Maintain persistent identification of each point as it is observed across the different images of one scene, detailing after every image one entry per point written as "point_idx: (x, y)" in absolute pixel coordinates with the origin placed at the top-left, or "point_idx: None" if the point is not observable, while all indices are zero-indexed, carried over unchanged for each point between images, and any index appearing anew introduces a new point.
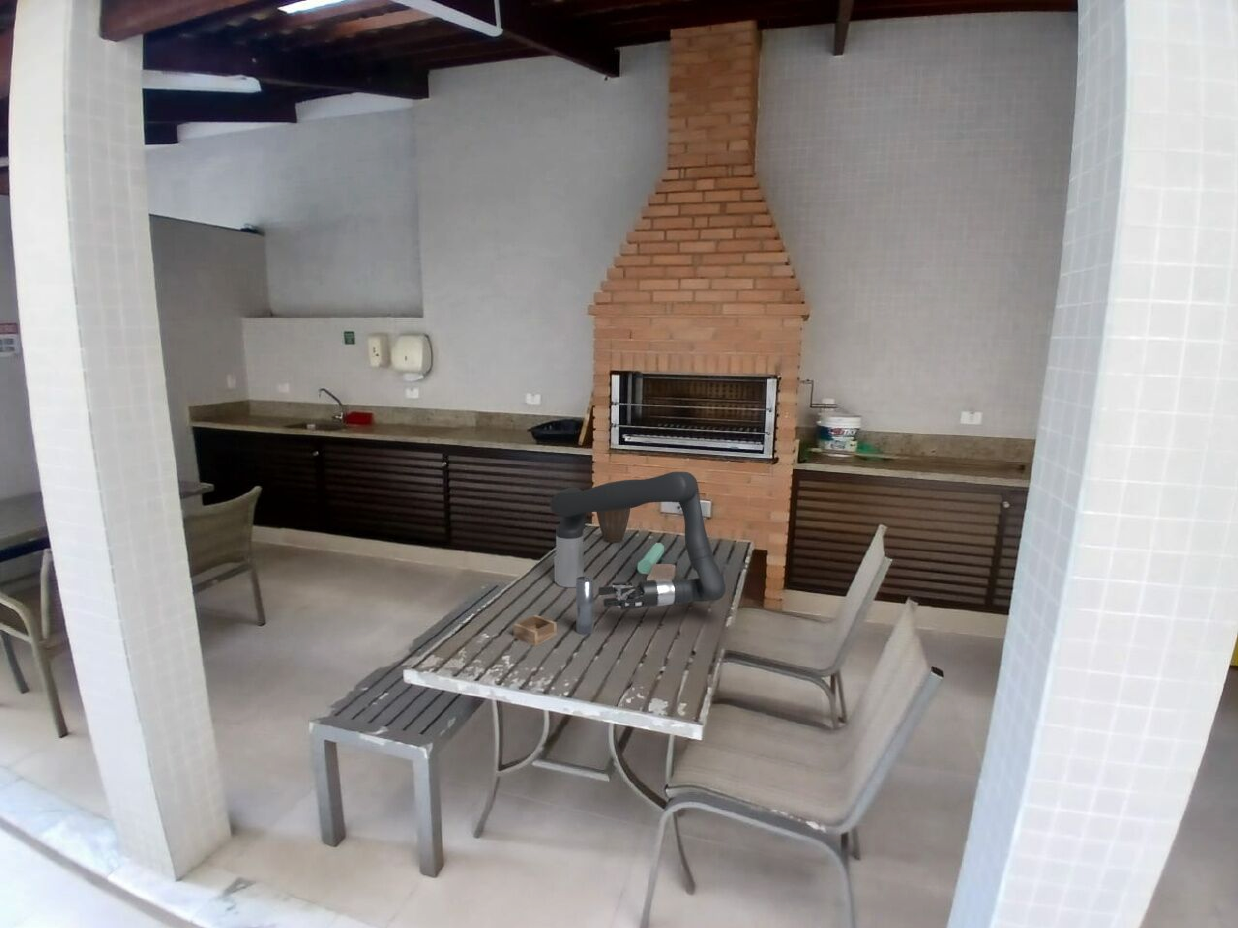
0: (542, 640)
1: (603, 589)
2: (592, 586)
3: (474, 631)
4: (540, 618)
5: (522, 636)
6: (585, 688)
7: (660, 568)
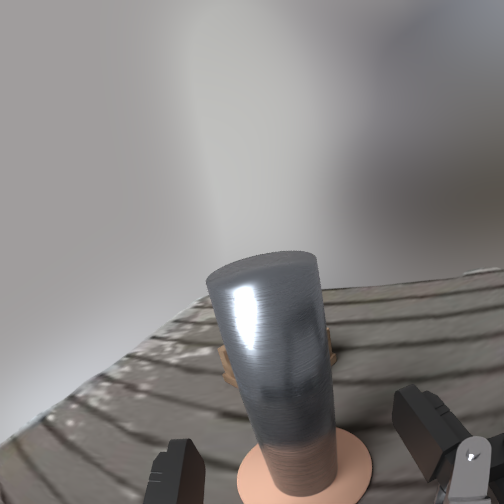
0: None
1: (410, 418)
2: (237, 329)
3: None
4: None
5: None
6: (42, 441)
7: None
